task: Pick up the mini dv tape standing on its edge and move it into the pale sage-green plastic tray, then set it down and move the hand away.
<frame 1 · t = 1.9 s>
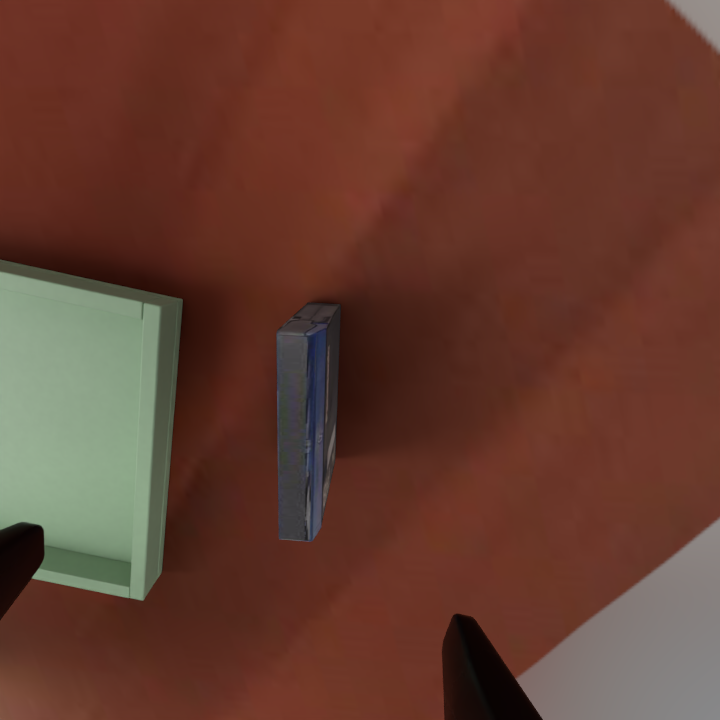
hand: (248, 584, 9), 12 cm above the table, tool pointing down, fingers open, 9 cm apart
mini dv tape: (323, 384, 20), on the table
tray: (35, 422, 21), on the table
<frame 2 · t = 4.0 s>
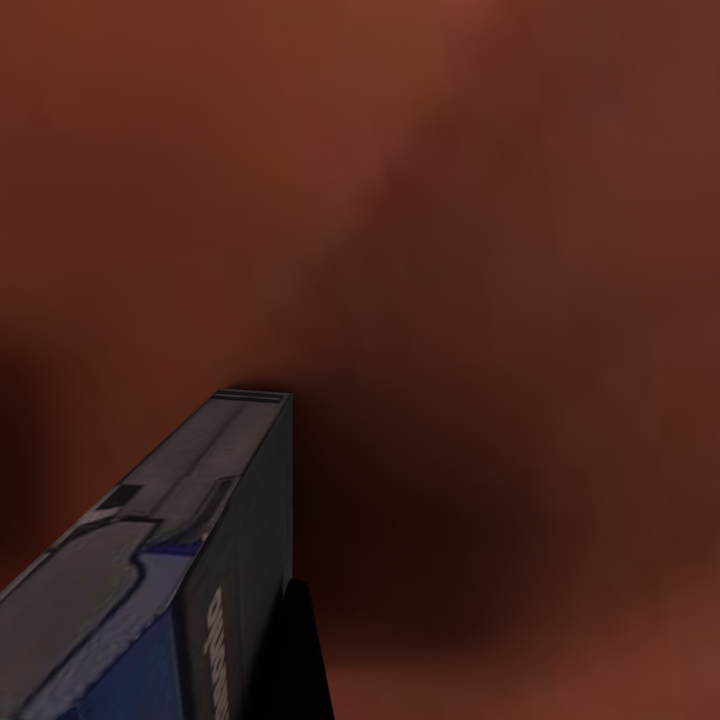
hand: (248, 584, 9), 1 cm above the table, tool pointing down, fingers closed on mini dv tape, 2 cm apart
mini dv tape: (263, 542, 10), on the table, touching gripper
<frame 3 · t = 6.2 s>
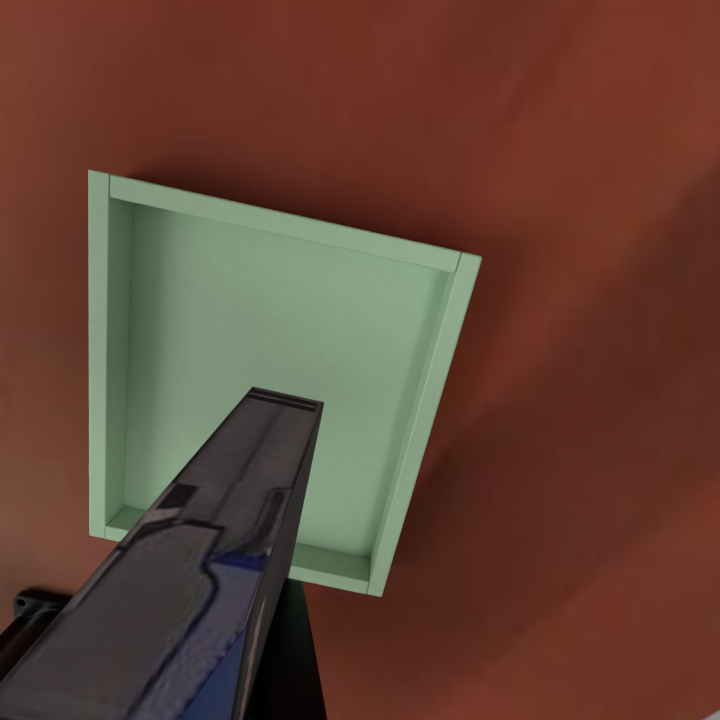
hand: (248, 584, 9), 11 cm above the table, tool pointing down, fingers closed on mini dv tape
mini dv tape: (265, 540, 10), point 9 cm above the table, touching gripper
tray: (269, 398, 19), on the table
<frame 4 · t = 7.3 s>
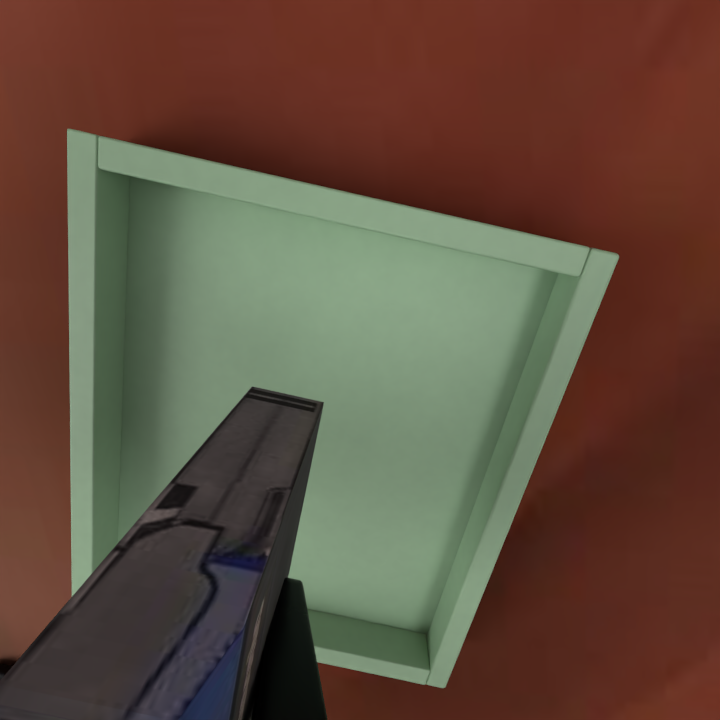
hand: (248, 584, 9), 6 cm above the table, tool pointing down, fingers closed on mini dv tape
mini dv tape: (264, 540, 10), point 5 cm above the table, touching gripper
tray: (305, 436, 15), on the table
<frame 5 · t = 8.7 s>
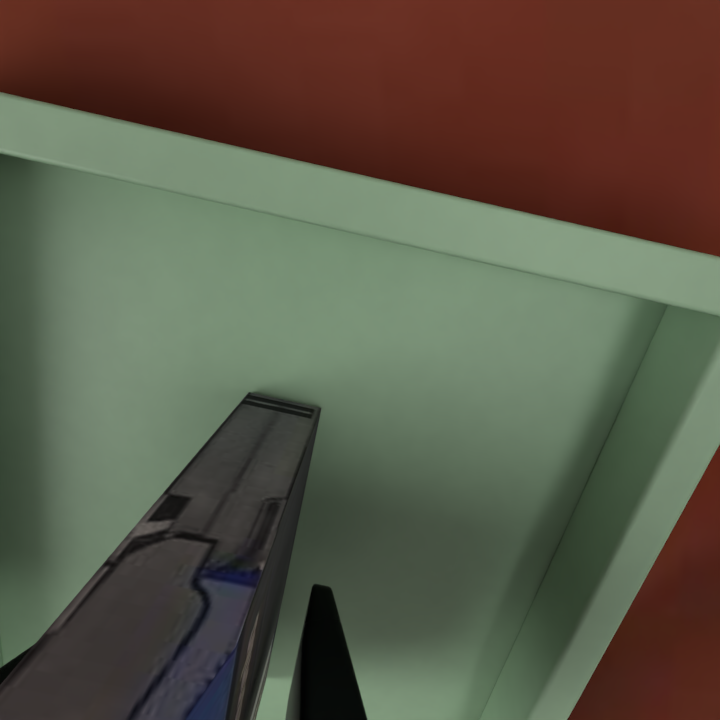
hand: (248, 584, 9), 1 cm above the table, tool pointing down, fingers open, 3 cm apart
mini dv tape: (261, 547, 10), resting on tray
tray: (267, 536, 10), on the table
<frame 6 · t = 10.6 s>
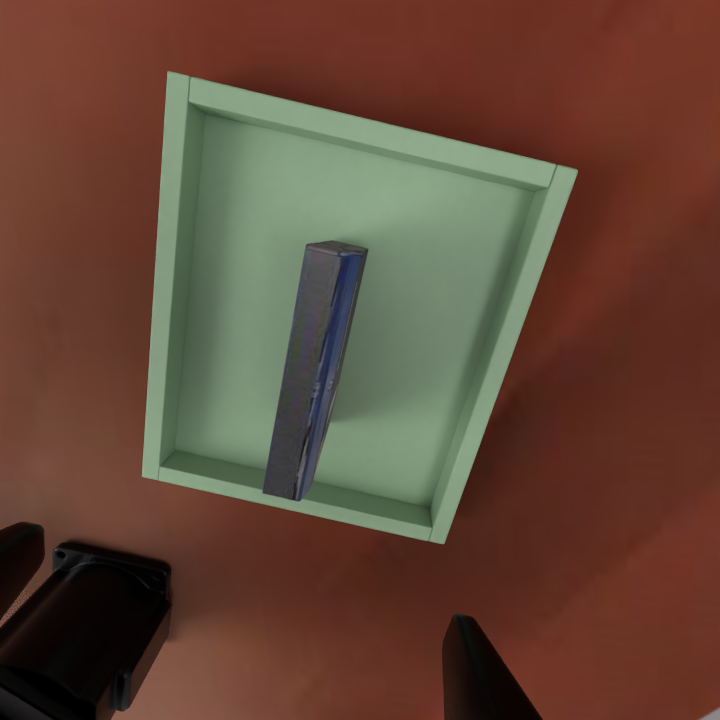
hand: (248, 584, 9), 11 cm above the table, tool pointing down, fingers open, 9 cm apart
mini dv tape: (331, 337, 18), resting on tray
tray: (333, 334, 18), on the table
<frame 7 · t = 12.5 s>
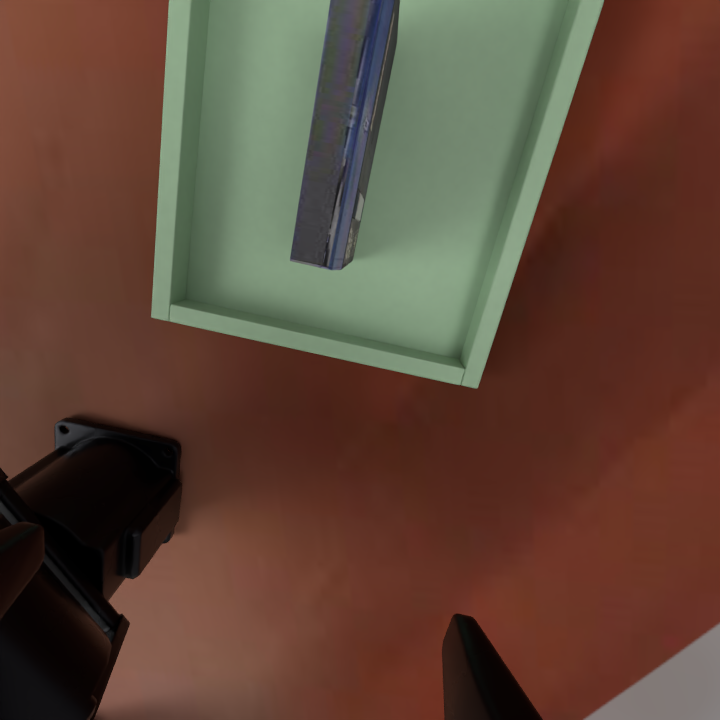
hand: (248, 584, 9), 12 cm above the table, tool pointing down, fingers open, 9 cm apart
mini dv tape: (355, 157, 17), resting on tray
tray: (357, 156, 17), on the table
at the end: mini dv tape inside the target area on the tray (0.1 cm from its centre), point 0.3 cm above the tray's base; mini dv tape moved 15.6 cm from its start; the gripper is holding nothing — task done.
